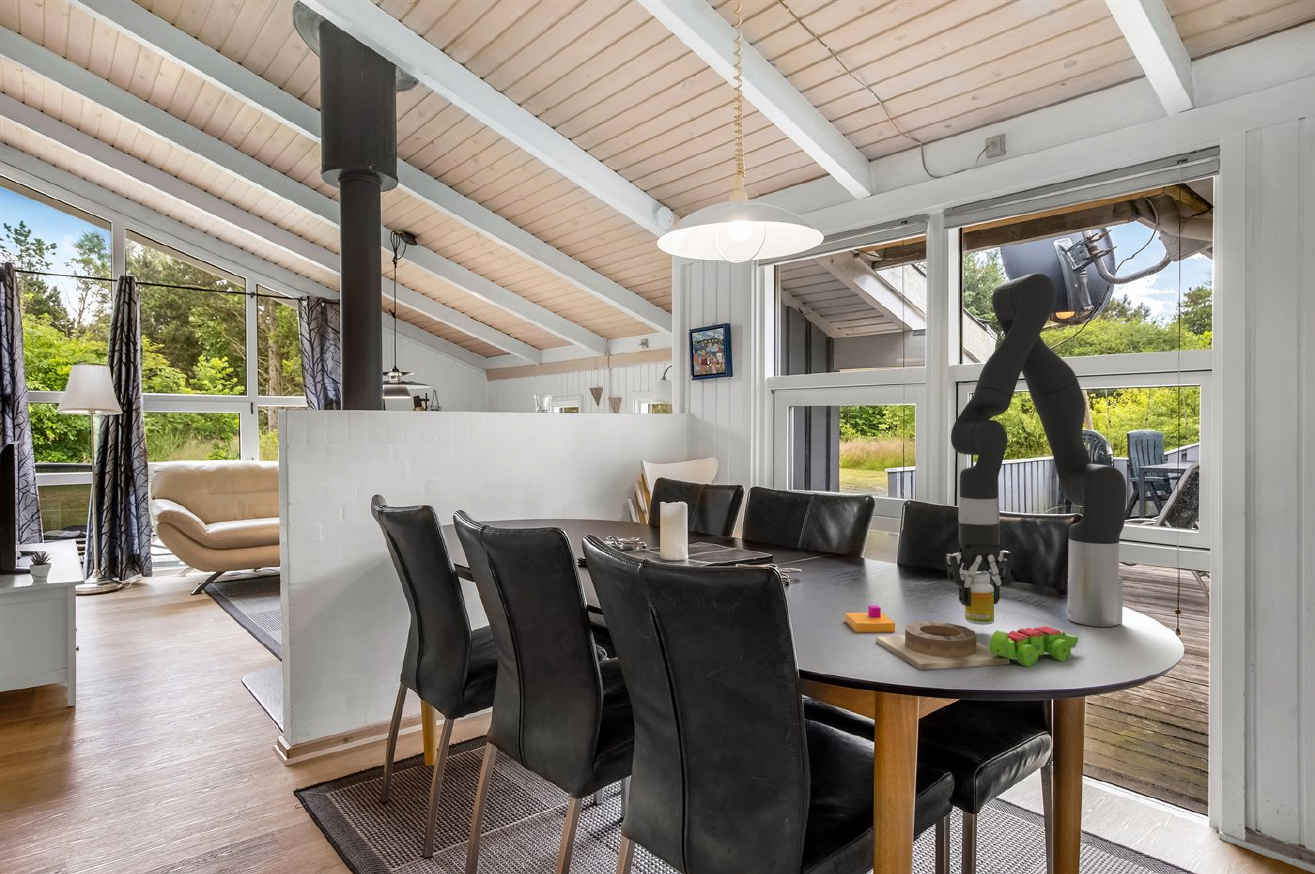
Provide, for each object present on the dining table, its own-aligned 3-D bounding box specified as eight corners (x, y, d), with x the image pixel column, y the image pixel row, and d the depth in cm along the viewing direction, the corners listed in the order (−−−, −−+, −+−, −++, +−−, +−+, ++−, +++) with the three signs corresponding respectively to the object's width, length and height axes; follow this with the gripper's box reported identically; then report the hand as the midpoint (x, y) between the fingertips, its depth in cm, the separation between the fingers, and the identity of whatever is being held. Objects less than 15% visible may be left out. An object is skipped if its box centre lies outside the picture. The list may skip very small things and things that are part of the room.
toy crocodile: (1056, 647, 140) (1057, 615, 140) (1088, 657, 134) (1089, 624, 134) (976, 660, 133) (976, 626, 133) (1006, 671, 127) (1006, 636, 126)
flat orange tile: (895, 633, 150) (895, 612, 150) (855, 633, 150) (855, 612, 149) (882, 622, 158) (882, 603, 158) (845, 623, 158) (845, 603, 157)
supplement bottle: (997, 625, 145) (997, 576, 145) (968, 624, 146) (967, 575, 146) (990, 618, 151) (990, 570, 150) (962, 617, 152) (962, 570, 151)
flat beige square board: (957, 637, 146) (957, 631, 146) (1009, 663, 130) (1009, 658, 130) (876, 641, 143) (876, 636, 143) (920, 669, 127) (920, 663, 127)
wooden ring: (951, 635, 143) (951, 620, 143) (989, 655, 132) (990, 638, 132) (893, 638, 141) (893, 623, 141) (927, 659, 129) (927, 642, 129)
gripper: (999, 516, 153) (999, 597, 153) (935, 518, 150) (935, 601, 151) (1023, 521, 146) (1023, 606, 146) (957, 524, 143) (957, 611, 143)
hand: (979, 603), depth 148 cm, fingers closed on supplement bottle, 5 cm apart
